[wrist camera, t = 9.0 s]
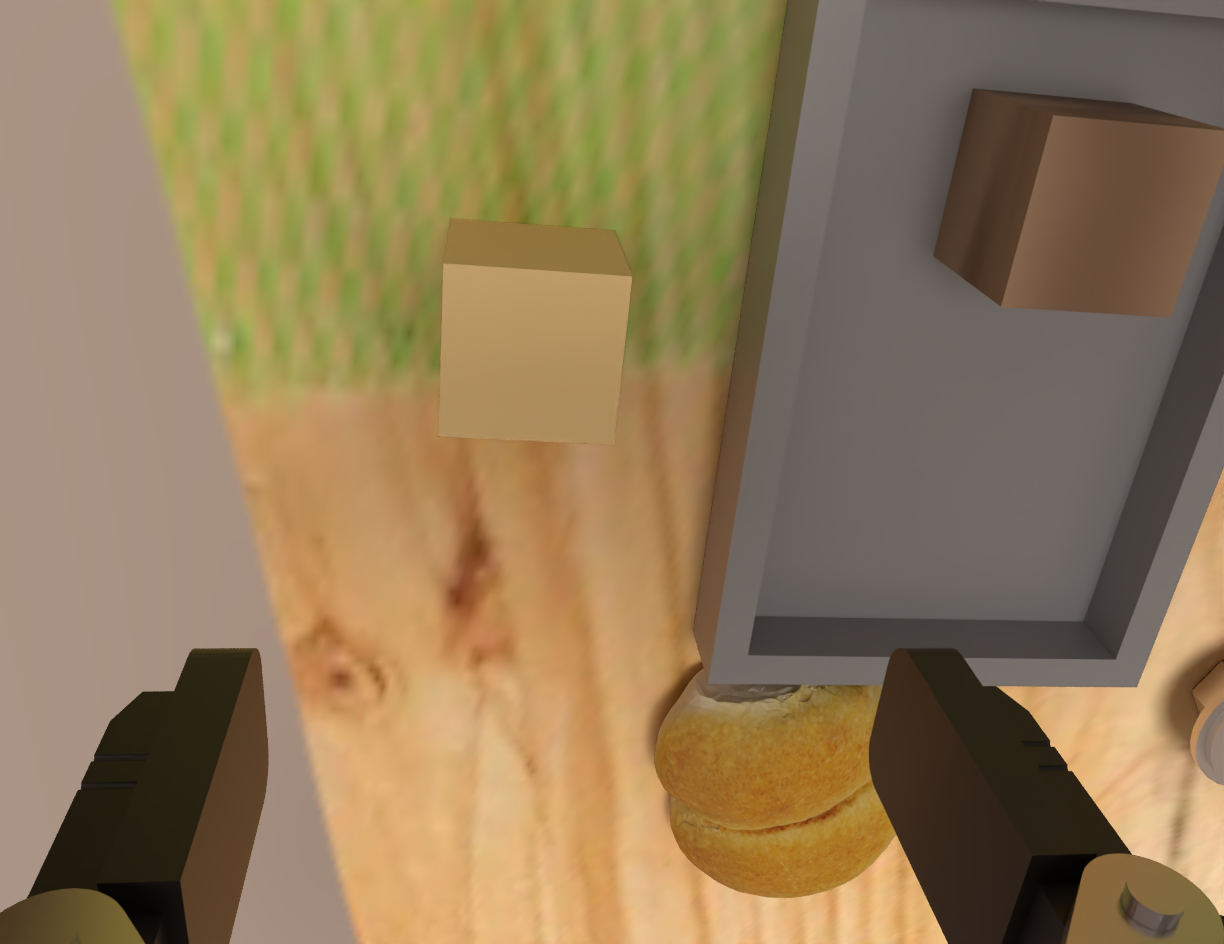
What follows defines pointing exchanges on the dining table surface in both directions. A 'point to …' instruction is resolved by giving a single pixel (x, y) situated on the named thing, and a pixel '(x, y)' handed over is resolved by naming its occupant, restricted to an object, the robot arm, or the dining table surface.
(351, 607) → the dining table surface
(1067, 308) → the walnut block
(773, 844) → the bread roll
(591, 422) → the ochre block
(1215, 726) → the screw
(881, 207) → the tray
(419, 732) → the dining table surface
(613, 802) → the dining table surface
